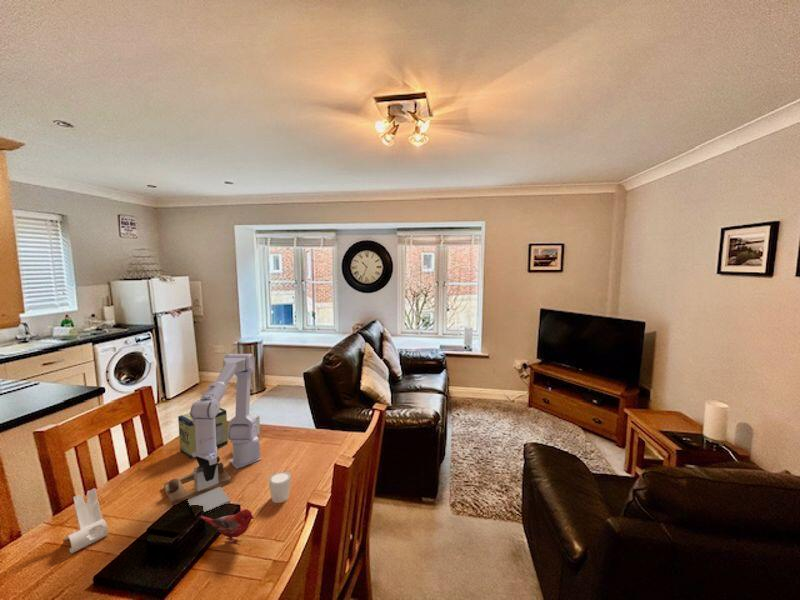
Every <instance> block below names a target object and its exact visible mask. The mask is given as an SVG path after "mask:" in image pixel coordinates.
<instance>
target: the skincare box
mask: <svg viewBox="0 0 800 600" xmlns="http://www.w3.org/2000/svg"><path fill="white" fill-rule="evenodd" d="M250 415H251V416H252V417H254V418H255V419H256V425H257V434H256V436H257V437H258V439H259V442H260V440H261V434H260V431H261V429H260V428H261V427H260V415H258V414H250Z"/></svg>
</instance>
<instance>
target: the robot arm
mask: <svg viewBox="0 0 800 600" xmlns="http://www.w3.org/2000/svg"><path fill="white" fill-rule="evenodd" d="M255 360H256V357H254V355H253V354H252V353H226V354H225V356H224V357H223V359H222V369H221V371H220V373H219V375H218V376H217V379H216V381H214V382H211V383H210V384H209V385H208V387H207V388H206V390H205V391H204V393H203V394H202V396H201V397H200V399H199V400H196V401H194V402H193V403H192V405H191V407H190V412H189V413H190V417H191V418H192V420H193V424H194V425H195V438H196V452H193V453H192V456H193V457H195V458H194V459H195V460H196V461H197V464H198V466H201V467H202V469H203V472H204V476H205V480H206V481H209V480H212V479H214V475H215V470H216V467H217V464H219V463H220V460H221V459H220V456H217V453H218V448H217V446H216V426H215V417H216V415H217V414H218V410H219V407H220V406H221V403H220V402H221V401H222V399H223V398H224V396H225V395H226V393H227V390H228V389H227V385H228V384H229V382H230V381H231V379H232V378H233V377H234V376H235V377H236V392H235V393H236V396H235V416H234V417H232V418H231V420H229V422H228V425H227V437H228V441H230V443H231V444H232V457H233V458H232V459H229V462H230V463H231V465H232V466H233V467H234V468H235V469H236V470H237V469H240V468H243V467H245V466H248V465H251V464H253V463H256V462H258V461H261V459H262V458H261V450H260V449H261V448H260V447H261V445H260V441H259V439H258V437H257V436H256V434H257V425H256V419H255V418H254V417H252V416H251V415H252V414H250V405H251V404H250V401H251V400H250V399H251V398H250V397H251V379H252V378H251V377H252V376H251V375H252V374H254V373H255V363H256V361H255Z"/></svg>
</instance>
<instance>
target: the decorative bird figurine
mask: <svg viewBox="0 0 800 600" xmlns="http://www.w3.org/2000/svg"><path fill="white" fill-rule="evenodd" d="M198 518H200V519H201V520H204V521H206V522H207V523H208V524H210V525H211V526H212V527H213V528H214V530H215V531H217V532H218V533H220V534H221V535H223V536H225V537H227V538H225V540H227V541H229V542H232V543H237V542H243V541H242V540H239V539H237V538H238V537H240V536H241V535H243V534H244V533H245V532H246V531H247V530H248V529H249V526H250V524H251V522H252V520H253V519H255V517H254V515H252V512H251V510H249V509H247V508H245V509H242V510H240V511H238V512H237V513H236V514H231V515H225V516H221V517H217V518H215V519H214V518H211V517H207V516H204V515H201V516H199V517H198Z"/></svg>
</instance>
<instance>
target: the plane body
mask: <svg viewBox="0 0 800 600" xmlns="http://www.w3.org/2000/svg"><path fill="white" fill-rule="evenodd" d="M217 465H218V482H219V483H218V484H215V485H213V486H210V487H208V488H205V489H203V490H200V491H197V489H196V488H195V489H193V490H191V491H186V489H185V487H184V485H183V484H184V483H185V482H188V481H191V480H194V472H192V473H189V474H185V475H184V476H180V477H178V478H173V479H171V480H169V481H167V482H164V483H163V489H164V492H165V493H166V495H167V498H168V500H169V502H170V504H171V507H172V506H176V505H178V504H180V503H182V502H181V501H183V500H185V499H188V500H189V499H191V498H193V497H196V496H198V495H201V494H203V493H206V492H208V491H211V490H213V489H215V488H218V487H222V486H225V485H227V484H229V483H231V482H232V477H231V476H230V475H229V473H228V472H227V471H226V469H225V468H224V464H223V462H218V464H217ZM185 501H186V500H185ZM183 502H184V501H183Z"/></svg>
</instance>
